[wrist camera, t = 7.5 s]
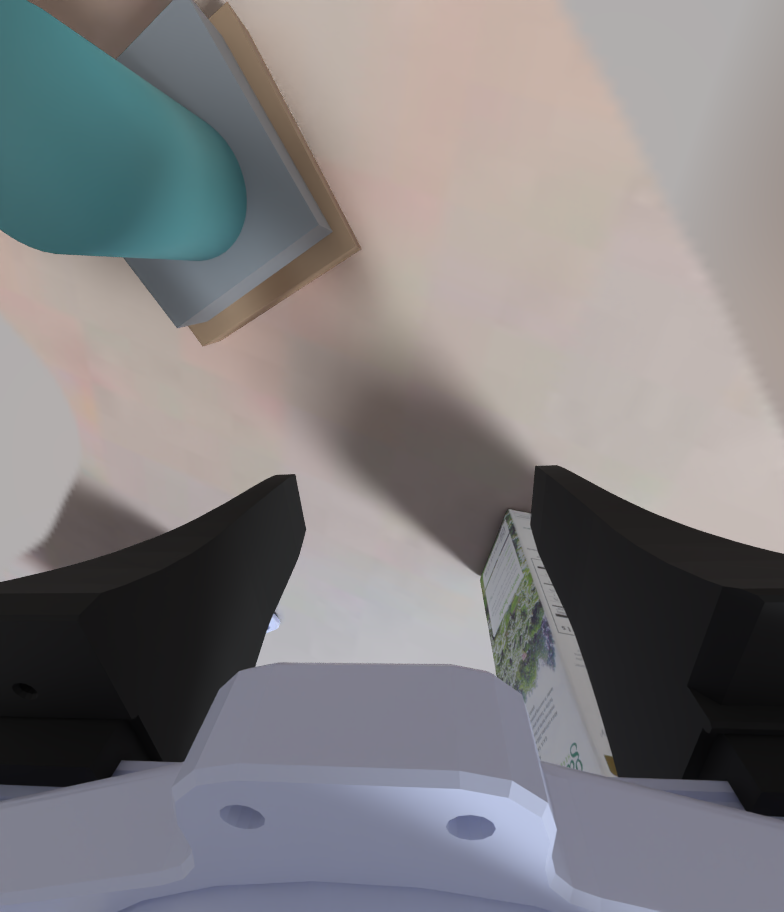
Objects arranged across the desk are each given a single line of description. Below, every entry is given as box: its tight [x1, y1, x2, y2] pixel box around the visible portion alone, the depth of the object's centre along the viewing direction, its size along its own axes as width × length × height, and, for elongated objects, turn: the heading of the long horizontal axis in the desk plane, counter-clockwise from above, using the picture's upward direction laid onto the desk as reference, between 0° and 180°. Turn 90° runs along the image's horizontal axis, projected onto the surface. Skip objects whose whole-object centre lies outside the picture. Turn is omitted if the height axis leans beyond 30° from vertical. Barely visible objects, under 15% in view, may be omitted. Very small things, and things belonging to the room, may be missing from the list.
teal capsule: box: [0, 0, 247, 261], centre depth 11 cm, size 4×4×6 cm
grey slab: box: [116, 0, 333, 328], centre depth 15 cm, size 7×7×2 cm
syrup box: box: [480, 509, 618, 777], centre depth 18 cm, size 6×6×14 cm
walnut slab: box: [188, 2, 361, 346], centre depth 17 cm, size 8×8×2 cm
